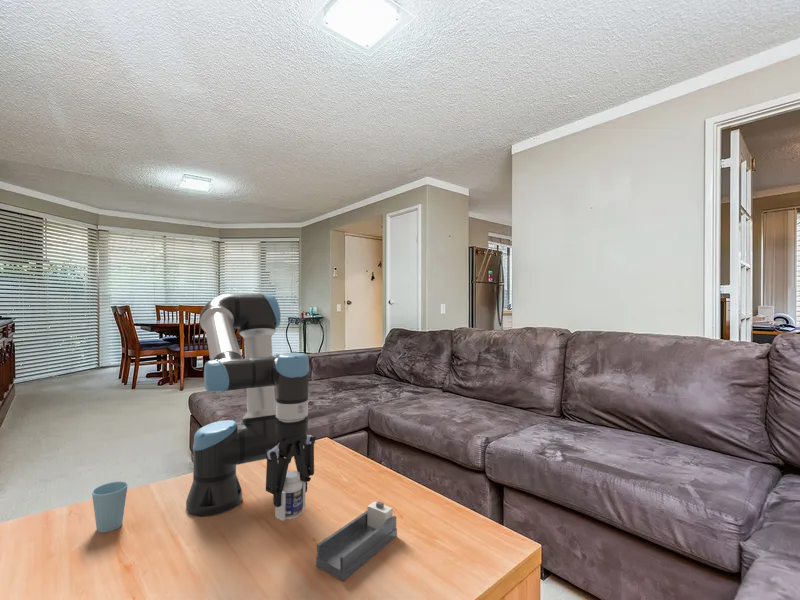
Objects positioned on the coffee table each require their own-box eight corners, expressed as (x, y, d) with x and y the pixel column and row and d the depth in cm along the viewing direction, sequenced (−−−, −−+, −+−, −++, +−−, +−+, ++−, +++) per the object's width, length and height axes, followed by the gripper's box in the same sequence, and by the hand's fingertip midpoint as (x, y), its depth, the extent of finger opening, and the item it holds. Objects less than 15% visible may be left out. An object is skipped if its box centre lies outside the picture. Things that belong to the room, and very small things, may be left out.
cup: (133, 517, 109) (133, 480, 109) (118, 533, 101) (118, 493, 101) (102, 520, 108) (102, 482, 108) (85, 536, 100) (85, 496, 100)
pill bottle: (295, 521, 92) (296, 480, 92) (274, 518, 93) (275, 477, 93) (305, 509, 97) (306, 470, 97) (285, 506, 98) (286, 468, 98)
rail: (316, 566, 89) (316, 544, 89) (371, 525, 106) (371, 506, 106) (343, 581, 84) (343, 558, 84) (396, 536, 101) (396, 516, 101)
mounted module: (367, 525, 102) (367, 502, 102) (374, 520, 105) (374, 497, 105) (385, 532, 99) (385, 509, 99) (392, 527, 101) (392, 504, 101)
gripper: (269, 431, 85) (268, 537, 85) (330, 411, 100) (328, 501, 100) (248, 424, 89) (247, 524, 89) (310, 406, 104) (308, 492, 105)
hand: (290, 512), depth 95 cm, fingers closed on pill bottle, 5 cm apart
